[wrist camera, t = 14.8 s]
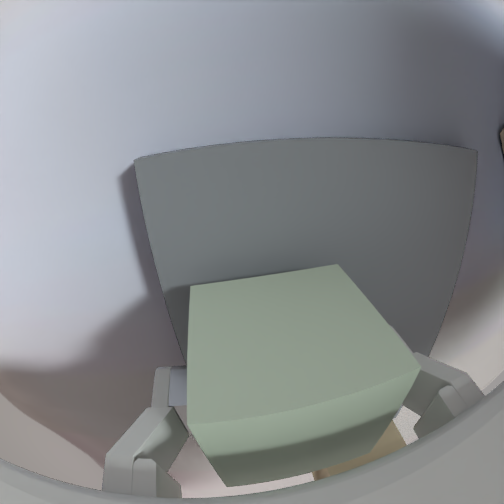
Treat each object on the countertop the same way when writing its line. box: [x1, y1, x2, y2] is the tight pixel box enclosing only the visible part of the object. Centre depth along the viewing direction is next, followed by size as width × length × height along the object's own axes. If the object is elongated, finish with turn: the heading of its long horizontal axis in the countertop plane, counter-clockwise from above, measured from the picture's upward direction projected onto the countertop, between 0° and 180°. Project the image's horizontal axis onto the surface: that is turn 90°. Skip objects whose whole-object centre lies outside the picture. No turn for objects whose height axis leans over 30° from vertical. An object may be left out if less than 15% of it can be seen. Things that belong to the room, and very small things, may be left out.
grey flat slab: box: [134, 137, 478, 418], centre depth 14 cm, size 22×15×1 cm
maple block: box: [312, 420, 407, 481], centre depth 14 cm, size 5×5×5 cm
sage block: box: [187, 264, 421, 487], centre depth 8 cm, size 5×5×5 cm
